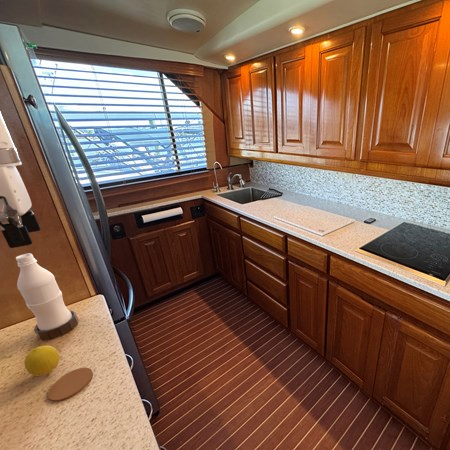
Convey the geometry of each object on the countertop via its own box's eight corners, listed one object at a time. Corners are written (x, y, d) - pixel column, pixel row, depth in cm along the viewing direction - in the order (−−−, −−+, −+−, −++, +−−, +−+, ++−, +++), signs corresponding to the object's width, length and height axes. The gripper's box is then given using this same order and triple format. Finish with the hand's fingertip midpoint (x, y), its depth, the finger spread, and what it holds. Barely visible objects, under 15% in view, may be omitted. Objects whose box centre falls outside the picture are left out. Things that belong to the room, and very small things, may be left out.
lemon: (62, 358, 62) (50, 335, 59) (66, 370, 59) (53, 346, 56) (32, 373, 58) (17, 349, 56) (34, 388, 55) (19, 363, 52)
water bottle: (68, 333, 70) (33, 259, 61) (36, 341, 68) (-5, 264, 59) (79, 317, 77) (48, 247, 68) (50, 323, 74) (15, 252, 65)
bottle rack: (29, 341, 68) (25, 333, 67) (55, 319, 76) (52, 311, 75) (63, 338, 69) (59, 330, 67) (85, 316, 77) (82, 309, 76)
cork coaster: (38, 403, 52) (37, 402, 52) (66, 370, 59) (66, 369, 59) (76, 399, 53) (76, 397, 52) (100, 367, 60) (99, 365, 60)
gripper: (-23, 156, 51) (12, 231, 57) (-63, 164, 38) (-13, 258, 44) (27, 155, 55) (55, 224, 61) (7, 161, 42) (44, 247, 48)
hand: (27, 238), depth 53 cm, fingers open, 9 cm apart
